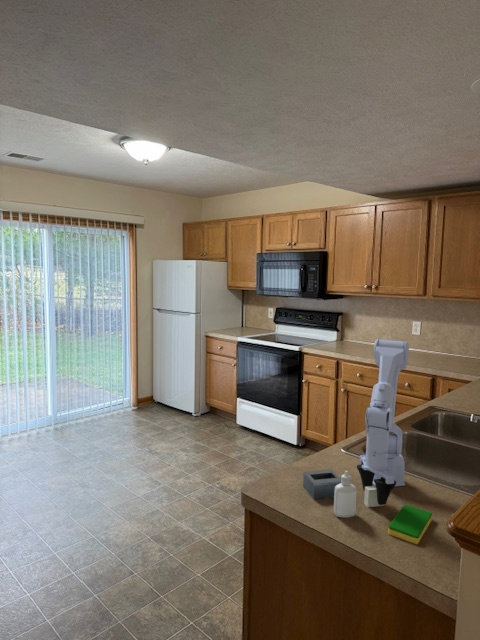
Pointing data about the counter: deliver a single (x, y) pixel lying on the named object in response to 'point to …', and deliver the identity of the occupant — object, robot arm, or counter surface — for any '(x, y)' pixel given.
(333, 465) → the counter surface
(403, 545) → the counter surface
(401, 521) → the dish sponge
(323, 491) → the slot box
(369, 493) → the block
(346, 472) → the eye dropper bottle
